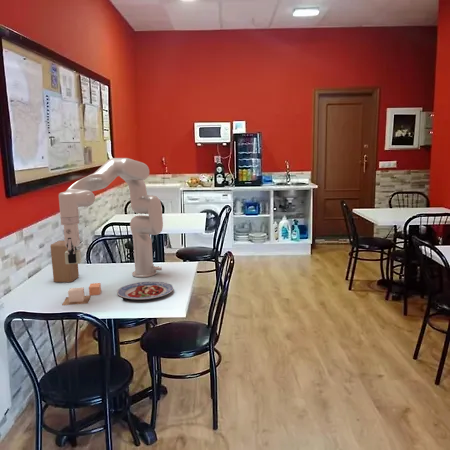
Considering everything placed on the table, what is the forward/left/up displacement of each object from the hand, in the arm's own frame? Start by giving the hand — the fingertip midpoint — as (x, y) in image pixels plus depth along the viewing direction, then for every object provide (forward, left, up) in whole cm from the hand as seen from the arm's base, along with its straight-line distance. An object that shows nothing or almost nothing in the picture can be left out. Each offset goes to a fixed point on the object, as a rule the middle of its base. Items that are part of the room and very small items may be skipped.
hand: (73, 261), depth 209 cm
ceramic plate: (-30, -6, -20) cm, 36 cm away
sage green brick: (0, 0, -1) cm, 1 cm away
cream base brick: (0, 0, -18) cm, 18 cm away
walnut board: (0, 0, -19) cm, 19 cm away
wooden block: (+11, -39, -19) cm, 45 cm away
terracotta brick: (-7, -9, -19) cm, 22 cm away
